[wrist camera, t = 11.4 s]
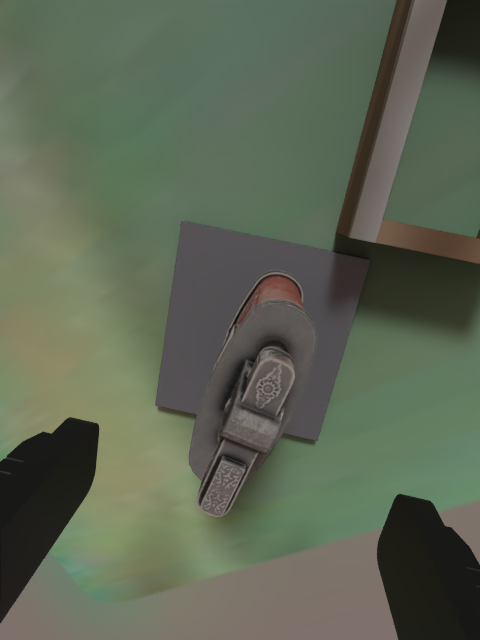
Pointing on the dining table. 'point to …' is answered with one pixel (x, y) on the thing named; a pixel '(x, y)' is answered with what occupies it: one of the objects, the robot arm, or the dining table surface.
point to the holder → (397, 139)
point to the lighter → (252, 389)
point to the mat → (225, 299)
